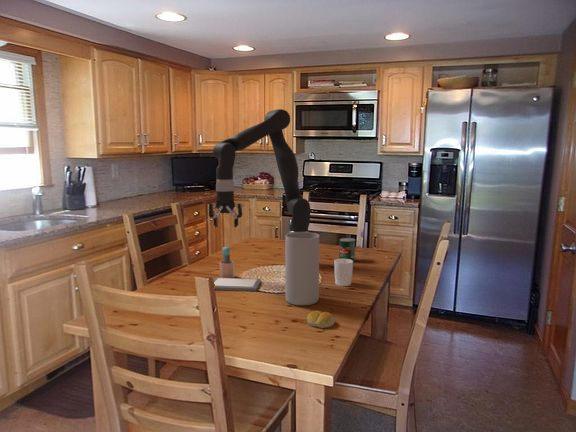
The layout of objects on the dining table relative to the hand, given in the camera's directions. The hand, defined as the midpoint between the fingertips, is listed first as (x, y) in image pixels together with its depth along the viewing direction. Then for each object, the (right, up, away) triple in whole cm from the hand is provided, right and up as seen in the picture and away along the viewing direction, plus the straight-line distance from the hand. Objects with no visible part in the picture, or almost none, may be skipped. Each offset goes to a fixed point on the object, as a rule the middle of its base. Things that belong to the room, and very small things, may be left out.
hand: (226, 226), depth 189 cm
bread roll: (+38, -31, -46) cm, 67 cm away
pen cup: (0, -22, +4) cm, 23 cm away
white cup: (+50, -24, -5) cm, 56 cm away
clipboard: (+5, -24, -8) cm, 26 cm away
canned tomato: (+57, -18, +33) cm, 68 cm away
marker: (0, -22, +3) cm, 22 cm away
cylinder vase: (+32, -27, -25) cm, 49 cm away
